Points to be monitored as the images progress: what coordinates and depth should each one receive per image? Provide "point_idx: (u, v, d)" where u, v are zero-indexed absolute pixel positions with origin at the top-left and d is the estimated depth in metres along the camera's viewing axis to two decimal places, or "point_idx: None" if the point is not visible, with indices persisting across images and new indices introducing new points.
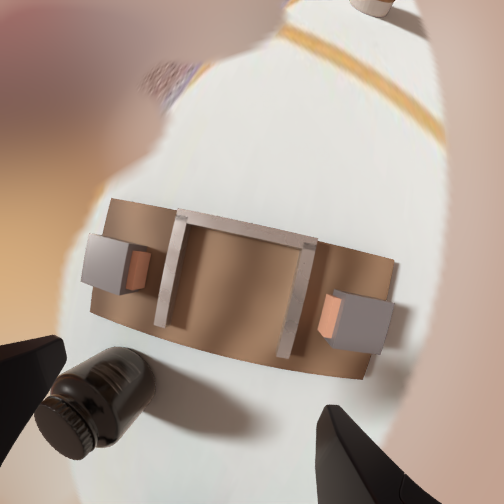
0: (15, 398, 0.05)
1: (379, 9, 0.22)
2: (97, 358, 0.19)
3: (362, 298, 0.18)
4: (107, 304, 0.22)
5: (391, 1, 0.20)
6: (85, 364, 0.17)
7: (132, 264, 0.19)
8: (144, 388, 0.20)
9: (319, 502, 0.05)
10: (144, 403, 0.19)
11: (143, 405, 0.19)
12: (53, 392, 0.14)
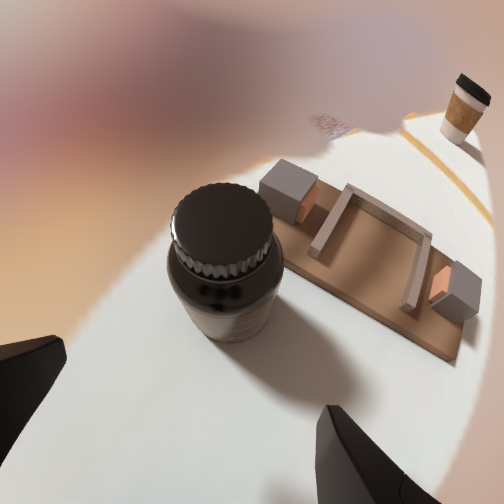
0: (15, 398, 0.05)
1: (458, 138, 0.39)
2: None
3: (464, 267, 0.20)
4: None
5: (467, 133, 0.37)
6: None
7: (312, 192, 0.24)
8: None
9: (319, 502, 0.05)
10: (267, 315, 0.19)
11: (266, 316, 0.19)
12: None
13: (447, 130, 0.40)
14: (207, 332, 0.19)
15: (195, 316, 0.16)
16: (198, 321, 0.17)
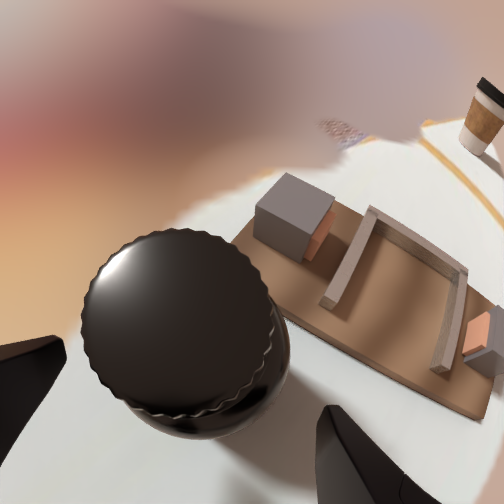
0: (15, 398, 0.05)
1: (479, 148, 0.33)
2: None
3: None
4: None
5: (488, 143, 0.32)
6: None
7: (327, 220, 0.18)
8: None
9: (319, 502, 0.05)
10: None
11: None
12: None
13: (467, 139, 0.34)
14: None
15: None
16: None
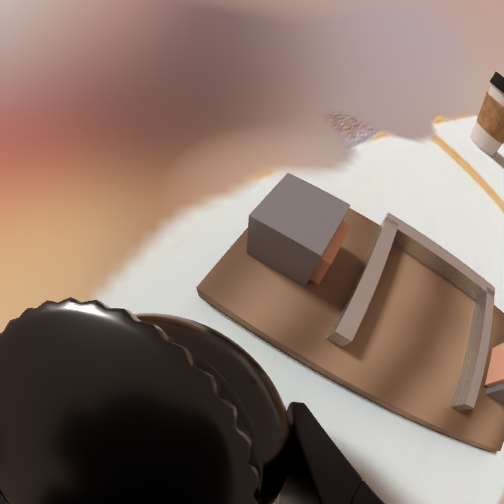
0: None
1: (492, 147, 0.29)
2: None
3: None
4: (240, 287, 0.15)
5: (502, 142, 0.28)
6: None
7: (340, 234, 0.14)
8: None
9: (280, 502, 0.05)
10: None
11: None
12: None
13: (480, 138, 0.30)
14: None
15: None
16: None
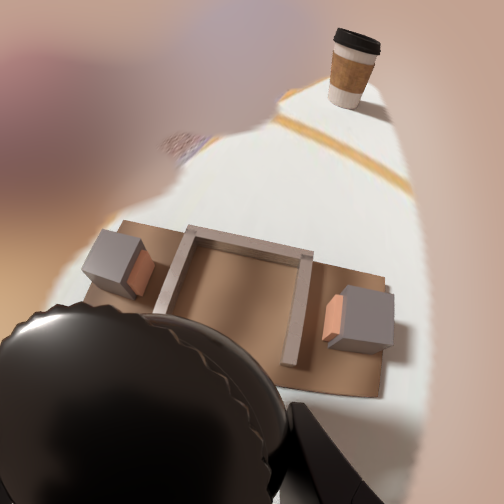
0: None
1: (351, 101, 0.41)
2: None
3: (363, 289, 0.19)
4: None
5: (360, 92, 0.39)
6: None
7: (138, 260, 0.20)
8: None
9: (280, 502, 0.05)
10: None
11: None
12: None
13: (335, 96, 0.41)
14: None
15: None
16: None
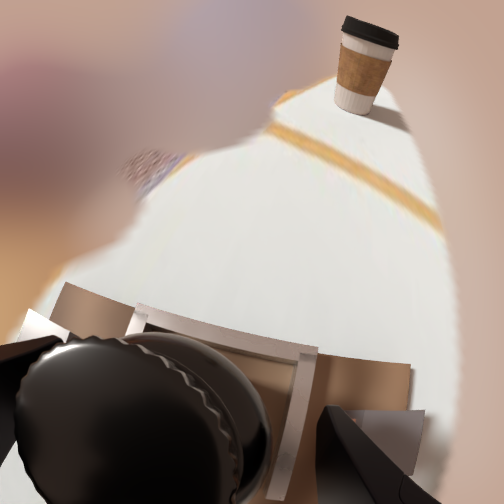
0: None
1: (363, 105, 0.33)
2: None
3: (385, 412, 0.11)
4: None
5: (374, 94, 0.31)
6: None
7: None
8: None
9: (319, 502, 0.05)
10: None
11: None
12: None
13: (344, 99, 0.33)
14: None
15: None
16: None
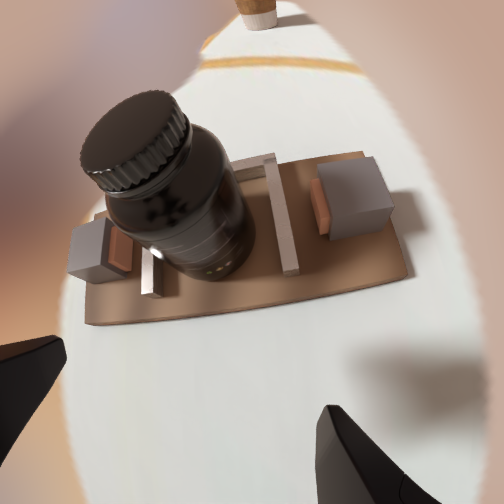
0: (15, 398, 0.05)
1: (268, 20, 0.33)
2: None
3: (336, 162, 0.16)
4: (100, 306, 0.20)
5: (273, 9, 0.32)
6: None
7: (112, 237, 0.19)
8: (248, 208, 0.17)
9: (319, 502, 0.05)
10: (246, 225, 0.16)
11: (244, 225, 0.16)
12: None
13: (252, 23, 0.34)
14: (191, 272, 0.16)
15: (158, 252, 0.13)
16: (169, 259, 0.14)
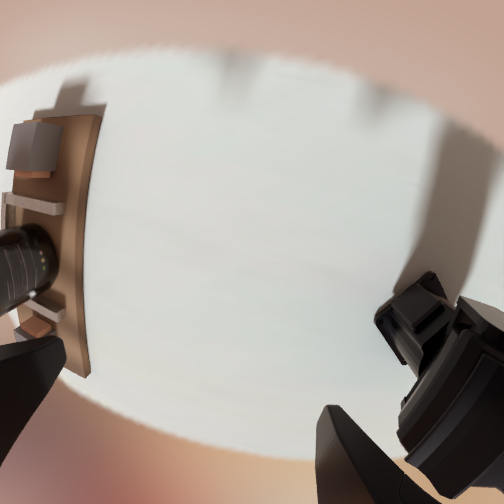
0: (15, 398, 0.05)
1: None
2: None
3: (8, 154, 0.15)
4: (73, 360, 0.22)
5: None
6: None
7: (26, 330, 0.19)
8: (16, 226, 0.16)
9: (319, 502, 0.05)
10: (21, 232, 0.16)
11: (20, 234, 0.16)
12: None
13: None
14: (40, 280, 0.17)
15: (13, 297, 0.14)
16: (22, 292, 0.15)
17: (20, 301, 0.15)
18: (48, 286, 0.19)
